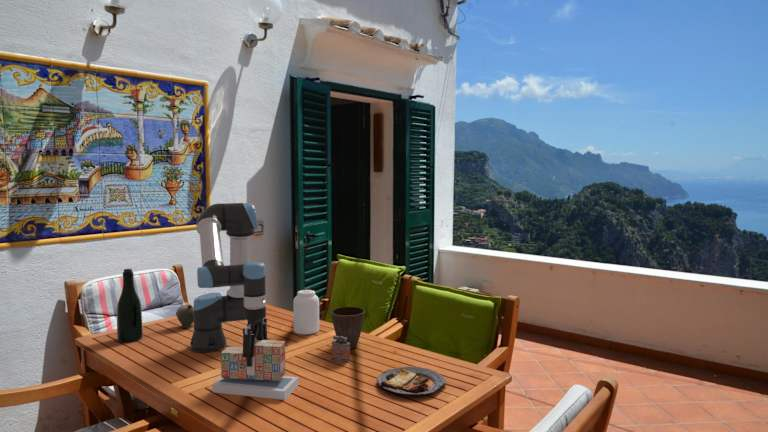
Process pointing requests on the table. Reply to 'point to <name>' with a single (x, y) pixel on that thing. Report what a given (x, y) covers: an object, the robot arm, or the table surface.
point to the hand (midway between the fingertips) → (255, 370)
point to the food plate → (410, 380)
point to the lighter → (340, 349)
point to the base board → (257, 387)
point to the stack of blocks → (266, 361)
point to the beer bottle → (129, 311)
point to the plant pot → (348, 323)
